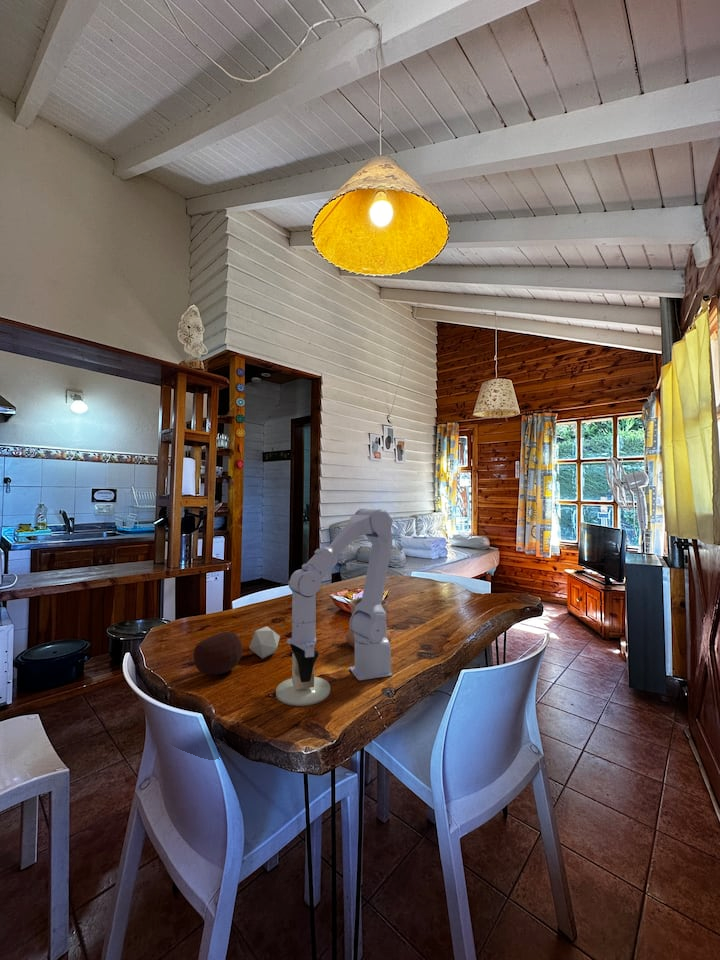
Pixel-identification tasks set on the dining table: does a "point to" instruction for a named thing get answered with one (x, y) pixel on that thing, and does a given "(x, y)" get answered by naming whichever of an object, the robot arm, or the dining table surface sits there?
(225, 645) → the potato
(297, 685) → the block
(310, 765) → the dining table surface
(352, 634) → the ceramic jug
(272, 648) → the die
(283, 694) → the plate
